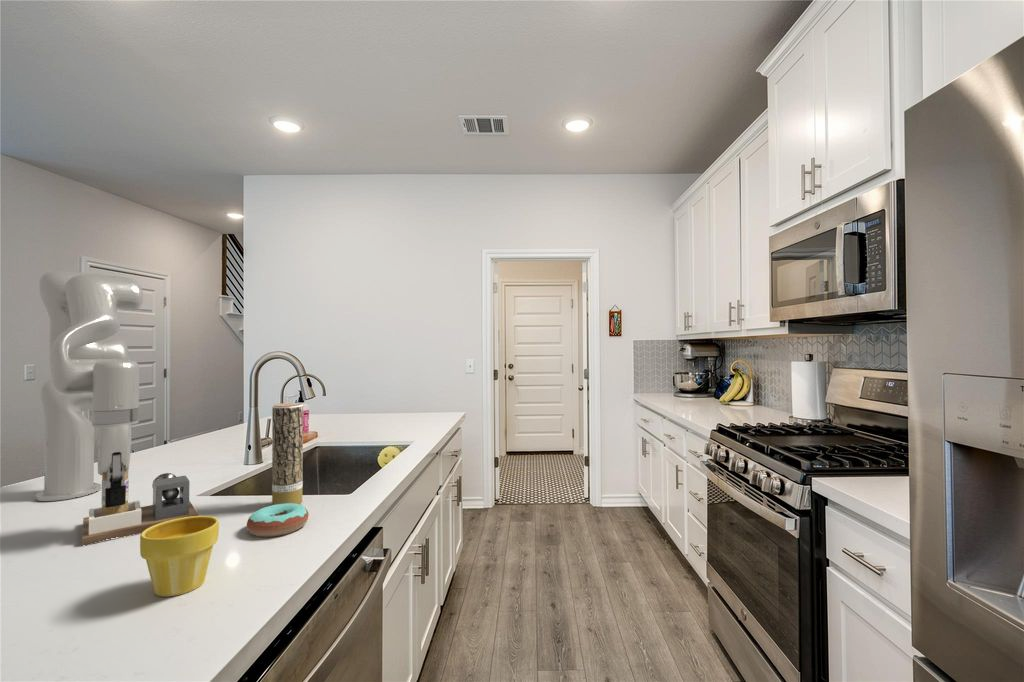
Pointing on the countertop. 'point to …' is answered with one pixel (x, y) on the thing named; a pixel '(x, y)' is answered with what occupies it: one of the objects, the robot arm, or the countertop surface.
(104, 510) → the sprinkles bottle
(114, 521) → the socket
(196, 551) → the plant pot
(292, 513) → the donut
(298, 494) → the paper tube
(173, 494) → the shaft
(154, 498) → the bearing block
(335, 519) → the countertop surface
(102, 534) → the walnut board
